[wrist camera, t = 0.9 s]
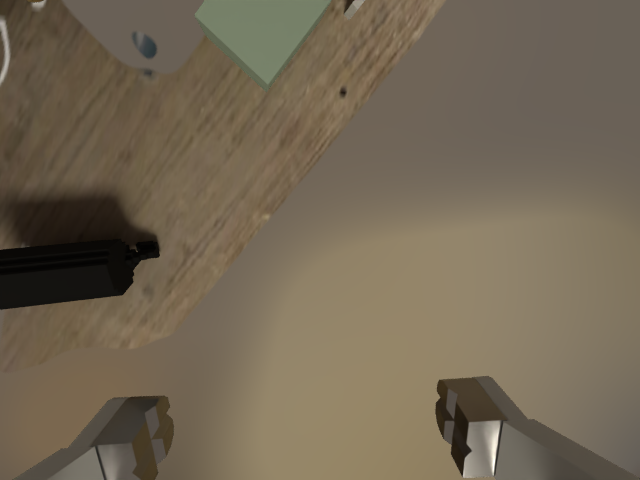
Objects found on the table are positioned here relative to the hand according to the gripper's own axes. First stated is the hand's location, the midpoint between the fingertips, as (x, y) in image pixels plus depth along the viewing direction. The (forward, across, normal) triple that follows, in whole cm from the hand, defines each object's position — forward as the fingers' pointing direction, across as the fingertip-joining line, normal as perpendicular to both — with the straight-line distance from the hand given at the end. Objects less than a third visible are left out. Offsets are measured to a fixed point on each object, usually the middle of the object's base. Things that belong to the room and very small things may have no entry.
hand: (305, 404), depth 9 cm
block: (+39, +5, -25) cm, 47 cm away
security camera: (+39, +33, +5) cm, 51 cm away
